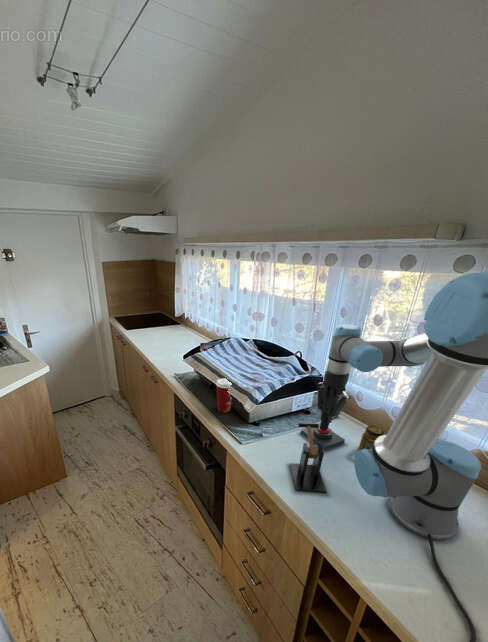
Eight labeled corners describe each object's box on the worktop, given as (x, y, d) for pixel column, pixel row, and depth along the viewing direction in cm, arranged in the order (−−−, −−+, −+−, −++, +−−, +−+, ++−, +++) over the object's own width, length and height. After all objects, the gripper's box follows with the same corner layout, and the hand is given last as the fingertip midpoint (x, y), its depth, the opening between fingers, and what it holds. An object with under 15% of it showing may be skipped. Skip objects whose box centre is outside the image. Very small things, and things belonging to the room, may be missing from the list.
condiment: (380, 459, 106) (391, 430, 100) (367, 468, 102) (377, 439, 96) (360, 448, 111) (369, 421, 106) (347, 457, 107) (355, 429, 102)
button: (329, 435, 115) (331, 430, 114) (322, 437, 114) (323, 433, 113) (322, 430, 118) (323, 425, 117) (315, 432, 116) (316, 428, 115)
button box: (343, 444, 114) (346, 435, 112) (323, 451, 110) (325, 442, 108) (319, 428, 123) (321, 419, 122) (300, 434, 120) (301, 425, 118)
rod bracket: (289, 466, 104) (294, 435, 98) (316, 468, 103) (324, 437, 97) (295, 492, 93) (302, 459, 87) (325, 494, 92) (335, 461, 86)
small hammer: (297, 425, 101) (299, 420, 99) (316, 426, 100) (318, 422, 98) (302, 457, 93) (303, 453, 91) (322, 459, 92) (324, 455, 91)
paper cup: (233, 413, 134) (234, 385, 127) (215, 413, 134) (216, 385, 128) (231, 405, 141) (232, 377, 134) (214, 405, 141) (215, 377, 134)
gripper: (362, 376, 99) (345, 435, 111) (330, 362, 110) (318, 417, 121) (345, 380, 97) (329, 440, 108) (314, 366, 107) (303, 422, 119)
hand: (323, 428), depth 115 cm, fingers closed
